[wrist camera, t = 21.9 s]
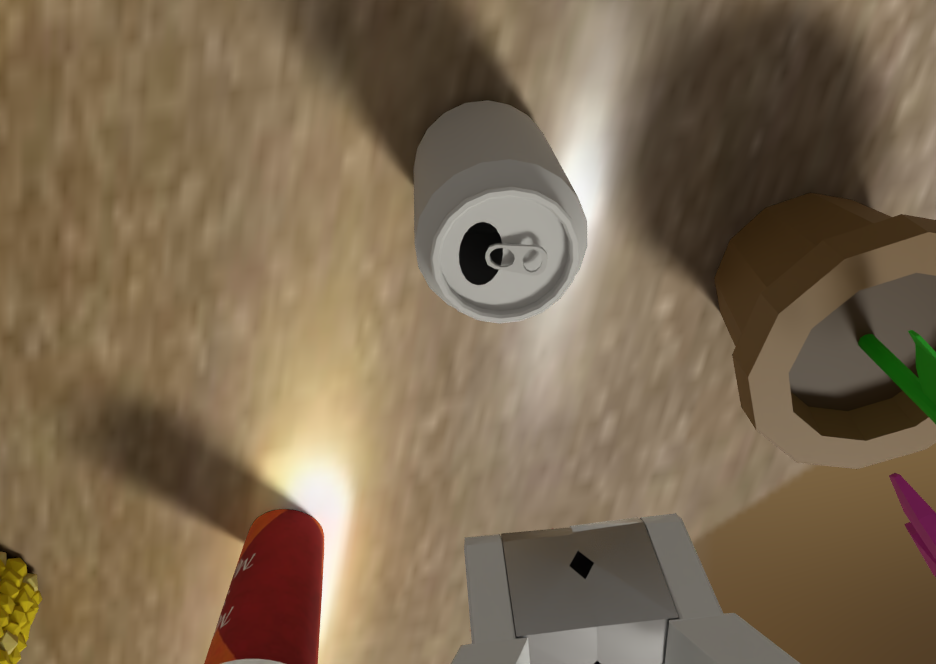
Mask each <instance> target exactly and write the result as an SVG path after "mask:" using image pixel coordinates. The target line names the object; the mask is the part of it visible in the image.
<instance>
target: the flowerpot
mask: <svg viewBox="0 0 936 664" xmlns="http://www.w3.org/2000/svg"><path fill="white" fill-rule="evenodd" d="M714 280H715V286H716V291H717V297H718V303H719V308H720V313H721V315H722V317H723V320H724V322H725V324H726V326H727V329H728V331H729V333H730V335H731V338H732V340H733V342H734V344H735V346H736V348H735V350H734V352H733V354H732V356H733V361H734V367H735V373H736V379H737V385H738V391H739V396H740V402H741V407H742V408H743V410H744V412H745V413H746V415H747V416H748V418H749V419H750V421H751V423H752V424H753V426H754V427H755V429H756V430H757V431H758V432H759V433H760V434H762V435H763V436H764V437H765V438H767V439H768V440H769V441H770V442H772V443H773V444H774V445H775V446H777V447H778V448H779V449H781V450H782V451H783V452H784V453H786V454H787V455H788V456H789V457H791V458H792V459H793V460H794V461H796V462H797V463H806V464H816V465H825V466H835V467H845V468H856V469H859V468H862V467H865V466H869V465H873V464H876V463H880V462H883V461H886V460H890V459H893V458H897V457H900V456H904V455H907V454H911V453H915V452H918V451H922V450H925V449H927V448H928V447H930V446H931V445H933V444H934V443H935V442H936V220H932V219H926V218H920V217H914V216H909V215H903V214H901V215H898V216H895V217H890V216H888V215H886V214H883V213H881V212H879V211H876V210H874V209H872V208H869V207H867V206H865V205H862V204H860V203H858V202H855V201H853V200H850V199H844V198H839V197H833V196H827V195H821V194H815V193H808V194H805V195H802V196H799V197H796V198H793V199H790V200H787V201H784V202H781V203H778V204H775V205H772V206H769V207H766V208H765V209H764V210H763V211H761V212H760V213H759V214H758V215H757V216H756V217H755V218H754V219H753V220H752V221H750V222H749V223H748V224H747V225H746V226H745V227H744V228H743V229H742V230H740V231H739V232H738V233H737V234H736V235H735V236H734V237H733V238H732V239H731V240H730V242H729V244H728V246H727V249H726V251H725V254H724V256H723V258H722V261H721V263H720V266H719V268H718V270H717V273H716V275H715V278H714ZM889 477H890V479H891V482H892V484H893V486H894V489H895V491H896V494H897V496H898V498H899V501H900V503H901V506H902V508H903V511H904V512H905V514H906V516H907V517H908V519H909V520H910V522H911V523H910V522H909V523H906V524H905V526H906V528H907V530H908V532H909V533H910V535H911V537H912V539H913V540H914V542H915V544H916V546H917V547H918V549H919V551H920V552H921V554H922V556H923V557H924V559H925V561H926V563H927V564H928V566H929V568H930V569H931V571H932V573H933V575H934V576H935V577H936V513H935V512H934V511H933V510H932V509H931V507H930V506H929V505H928V504H927V503H926V502H925V501H924V500H923V499H922V498H921V497H920V496H919V495H918V494H917V492H916V491H915V490H914V489H913V488H912V487H911V486H910V485H909V484H908V483H907V482H906V481H905V480H904V479H903V478H902V476H901V475H899V474H896V473H894V474H892V475H890V476H889Z"/></svg>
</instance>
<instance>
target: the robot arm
mask: <svg viewBox="0 0 936 664" xmlns="http://www.w3.org/2000/svg"><path fill="white" fill-rule="evenodd" d="M464 551H465V564H466V576H467V588H468V600H469V612H470V624H471V637H472V644H467V645H461V647H460V648H459V650H458V652H457V654H456V655H455V657H454V659H453V661H452V663H451V664H800V663H799V662H798V661H796V660H795V659H794V658H792V657H791V656H790V655H789V654H787V653H786V652H785V651H783V650H782V649H781V648H779V647H778V646H777V645H775V644H774V643H773V642H772V641H770V640H769V639H768V638H766V637H765V636H764V635H763V634H761V633H760V632H759V631H757V630H756V629H755V628H753V627H752V626H751V625H749V624H748V623H747V622H746V621H744V620H743V619H742V618H740V617H739V616H738V615H737V614H735V613H728V614H723V612H722V610H721V607H720V606H719V603H718V601H717V598H716V596H715V594H714V592H713V589H712V587H711V585H710V582H709V580H708V578H707V576H706V573H705V571H704V569H703V566H702V564H701V562H700V560H699V557H698V555H697V553H696V550H695V548H694V546H693V544H692V541H691V539H690V537H689V534H688V532H687V530H686V528H685V525H684V523H683V521H682V519H681V518H680V517H679V516H678V515H677V514H676V513H675V514H667V515H659V516H650V517H642V518H640V519H639V518H630V519H622V520H615V521H607V522H599V523H591V524H584V525H576V526H570V527H569V528H558V529H547V530H536V531H525V532H514V533H503V534H501V536H500V534H497V535H487V536H477V537H467V538H465V544H464Z"/></svg>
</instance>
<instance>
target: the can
mask: <svg viewBox="0 0 936 664" xmlns="http://www.w3.org/2000/svg"><path fill="white" fill-rule="evenodd" d="M414 233H415V248H416V254H417V261H418V267H419V269H420V271H421V272H422V274H423V276H424V278H425V280H426V282H427V283H428V285H429V287H430V289H431V290H433V291H434V292H435V293H436V294H437V295H438V296H439V297H440V298H441V299H442V300H443V301H445V302H446V303H447V304H448V305H450V306H452V307H454V308H456V309H457V310H458V311H459V312H461V313H463V314H466V315H468V316H470V317H472V318H474V319H476V320H480V321H486V322H493V323H508V322H516V321H523V320H525V319H527V318H530V317H532V316H535V315H537V314H540V313H542V312H544V311H545V310H546V309H548V308H549V307H550V306H551V305H553V304H554V303H555V302H557V301H558V300H559V299H560V298H561V297H562V296H563V294H564V293H565V292H566V290H567V289H568V287H569V286H570V285H571V283H572V282H573V280H574V277H575V275H576V274H577V272H578V271H579V270H580V267H581V264H582V261H583V258H584V255H585V251H586V248H587V220H586V217H585V215H584V212H583V209H582V207H581V204H580V201H579V199H578V196H577V195H576V193H575V191H574V189H573V187H572V186H571V184H570V182H569V180H568V178H567V176H566V175H565V173H564V171H563V169H562V167H561V165H560V164H559V162H558V160H557V158H556V156H555V154H554V153H553V151H552V149H551V147H550V145H549V143H548V142H547V140H546V138H545V136H544V134H543V132H542V131H541V130H540V129H539V128H538V126H537V125H536V124H535V123H534V122H533V121H532V119H531V118H530V117H529V116H528V115H526V114H525V113H523V112H521V111H519V110H518V109H516V108H514V107H513V106H511V105H508V104H504V103H499V102H494V101H489V100H486V101H478V102H469V103H464V104H462V105H460V106H458V107H456V108H453V109H451V110H449V111H447V112H445V113H444V114H443V115H441V116H440V117H439V118H438V119H437V120H436V121H435V122H434V123H433V124H432V125H431V126H430V127H429V128H428V129H427V131H426V133H425V135H424V136H423V138H422V140H421V142H420V144H419V146H418V147H417V153H416V159H415V164H414Z"/></svg>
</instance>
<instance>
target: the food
mask: <svg viewBox="0 0 936 664" xmlns="http://www.w3.org/2000/svg"><path fill="white" fill-rule="evenodd" d="M41 601H42V597H41V594H40V592H39V591H38V582H37V574H30V573H27V566H26V564H25V563H24V562H23V560H22V559H21V558H12V559H8V560H7V557H6V553H5V552H0V664H16V663H17V662H18V661H19V660H20V659H21V654H20V652H21V651H22V650H23V649H24V648H25V647H26V646H27V645H26V641H27V640H28V638H29V637H28V635H29V631H30V625H31V624H32V622H33V620H34V618H35V614H36V613H37V612H38V608H39V607H38V604H39V603H40V602H41Z"/></svg>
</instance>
